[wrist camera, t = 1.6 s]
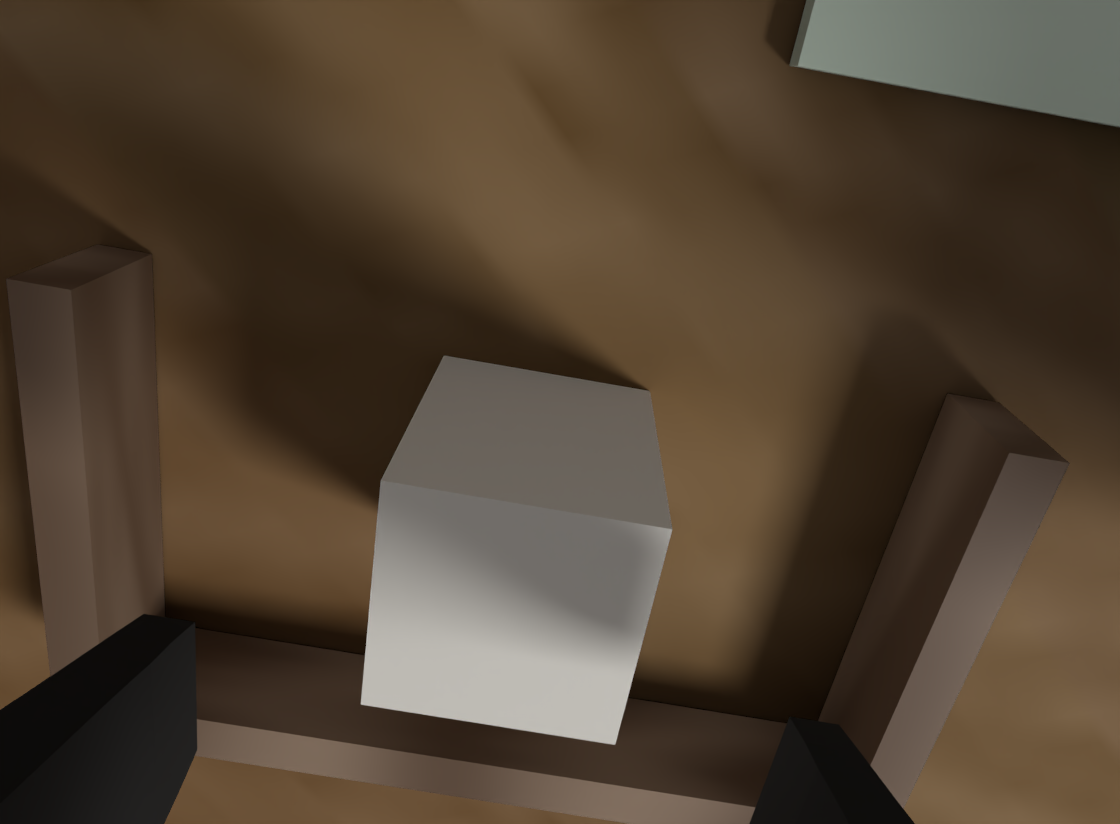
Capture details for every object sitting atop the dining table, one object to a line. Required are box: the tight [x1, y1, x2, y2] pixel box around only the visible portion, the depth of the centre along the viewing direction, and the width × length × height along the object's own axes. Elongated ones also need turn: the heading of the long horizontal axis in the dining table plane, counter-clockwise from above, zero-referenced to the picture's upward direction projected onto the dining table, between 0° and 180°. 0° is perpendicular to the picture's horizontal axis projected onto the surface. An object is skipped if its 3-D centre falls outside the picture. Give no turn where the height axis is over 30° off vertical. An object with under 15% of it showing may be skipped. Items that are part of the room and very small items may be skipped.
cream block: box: [361, 355, 672, 745], centre depth 14 cm, size 4×4×5 cm
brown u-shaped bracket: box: [6, 244, 1069, 824], centre depth 16 cm, size 17×10×2 cm, turn 80°
